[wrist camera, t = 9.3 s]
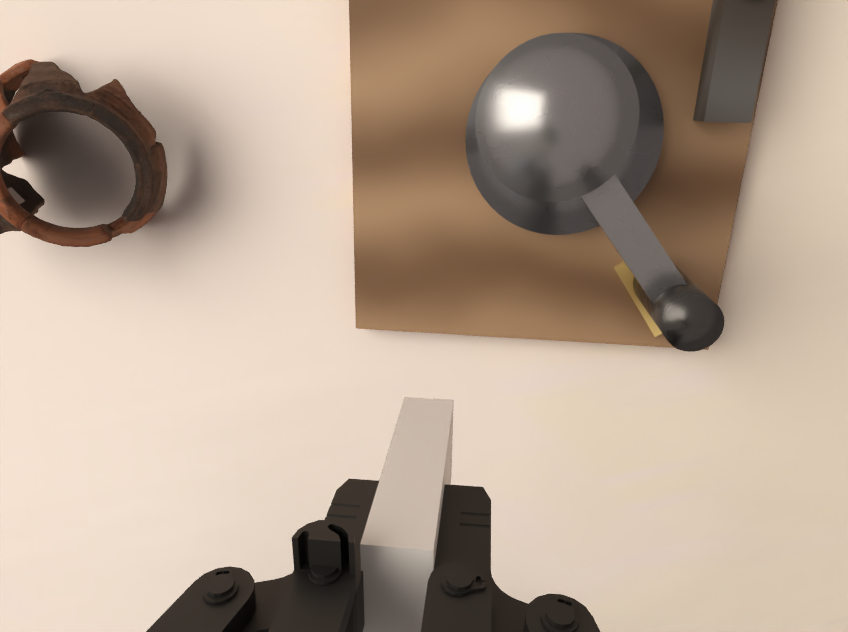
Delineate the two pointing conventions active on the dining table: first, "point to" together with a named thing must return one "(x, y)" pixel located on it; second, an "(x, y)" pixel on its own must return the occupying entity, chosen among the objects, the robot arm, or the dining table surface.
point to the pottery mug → (59, 92)
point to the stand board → (479, 223)
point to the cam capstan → (584, 163)
